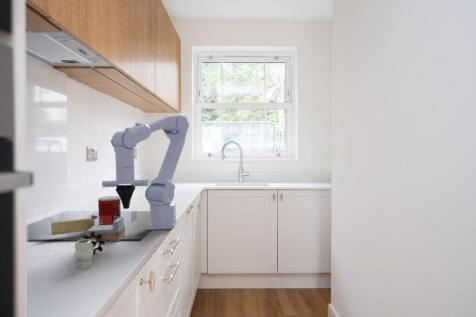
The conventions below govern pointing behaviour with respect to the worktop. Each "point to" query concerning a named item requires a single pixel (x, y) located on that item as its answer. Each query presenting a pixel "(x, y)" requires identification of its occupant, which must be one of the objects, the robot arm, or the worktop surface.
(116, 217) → the canned food
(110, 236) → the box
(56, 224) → the bar
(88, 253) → the valve
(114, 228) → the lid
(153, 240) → the worktop surface
